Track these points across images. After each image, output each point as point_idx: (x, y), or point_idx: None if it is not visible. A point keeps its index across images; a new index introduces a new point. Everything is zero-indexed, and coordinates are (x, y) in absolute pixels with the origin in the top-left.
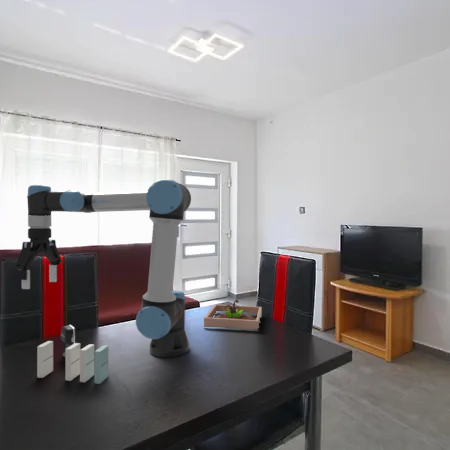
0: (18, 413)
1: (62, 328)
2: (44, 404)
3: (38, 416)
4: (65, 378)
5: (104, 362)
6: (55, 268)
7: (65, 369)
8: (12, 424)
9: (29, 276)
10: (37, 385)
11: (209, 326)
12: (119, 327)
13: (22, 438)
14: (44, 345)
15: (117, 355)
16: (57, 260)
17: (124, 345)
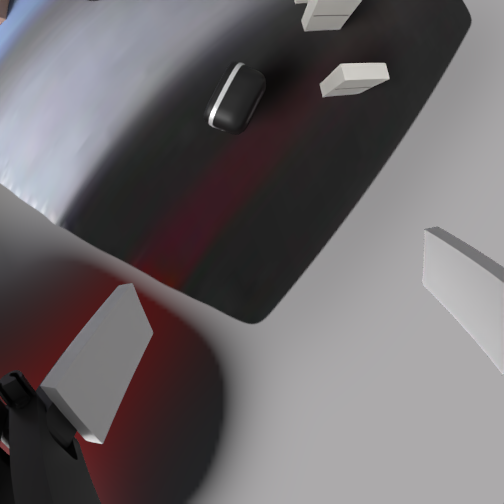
0: (442, 40)
1: (245, 115)
2: (411, 17)
3: (431, 10)
4: (340, 27)
5: None
6: (72, 360)
7: (346, 20)
8: (456, 33)
9: (490, 269)
10: None
11: (4, 10)
12: (35, 174)
13: (459, 7)
14: (376, 64)
15: (179, 16)
16: (7, 428)
17: (118, 51)
